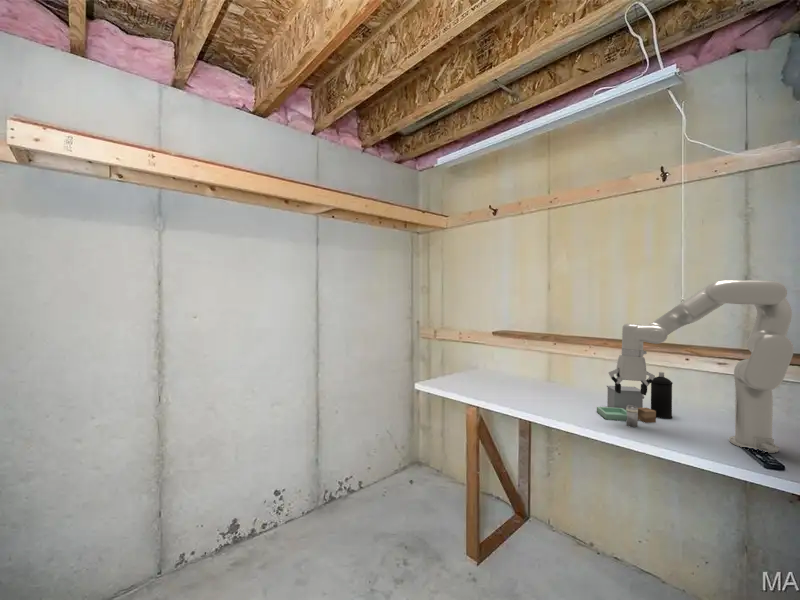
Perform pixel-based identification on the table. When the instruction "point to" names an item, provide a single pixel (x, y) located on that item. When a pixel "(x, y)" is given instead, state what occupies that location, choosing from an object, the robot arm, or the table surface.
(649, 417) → the walnut block
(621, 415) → the tray
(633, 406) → the fuse
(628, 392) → the box
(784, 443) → the table surface
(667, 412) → the aerosol can
